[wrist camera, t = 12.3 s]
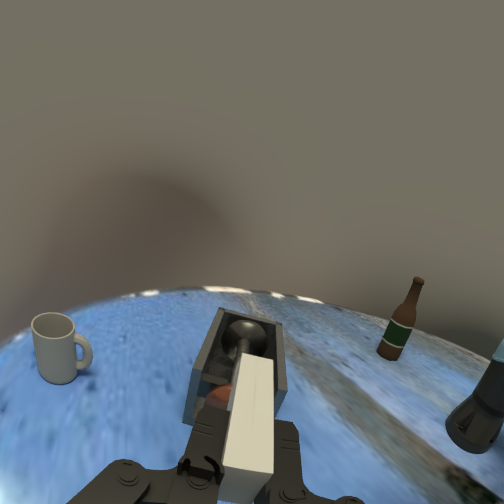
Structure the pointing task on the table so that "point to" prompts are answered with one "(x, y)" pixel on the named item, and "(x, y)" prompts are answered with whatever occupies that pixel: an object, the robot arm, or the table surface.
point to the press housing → (232, 362)
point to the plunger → (237, 355)
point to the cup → (58, 348)
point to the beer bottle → (400, 324)
